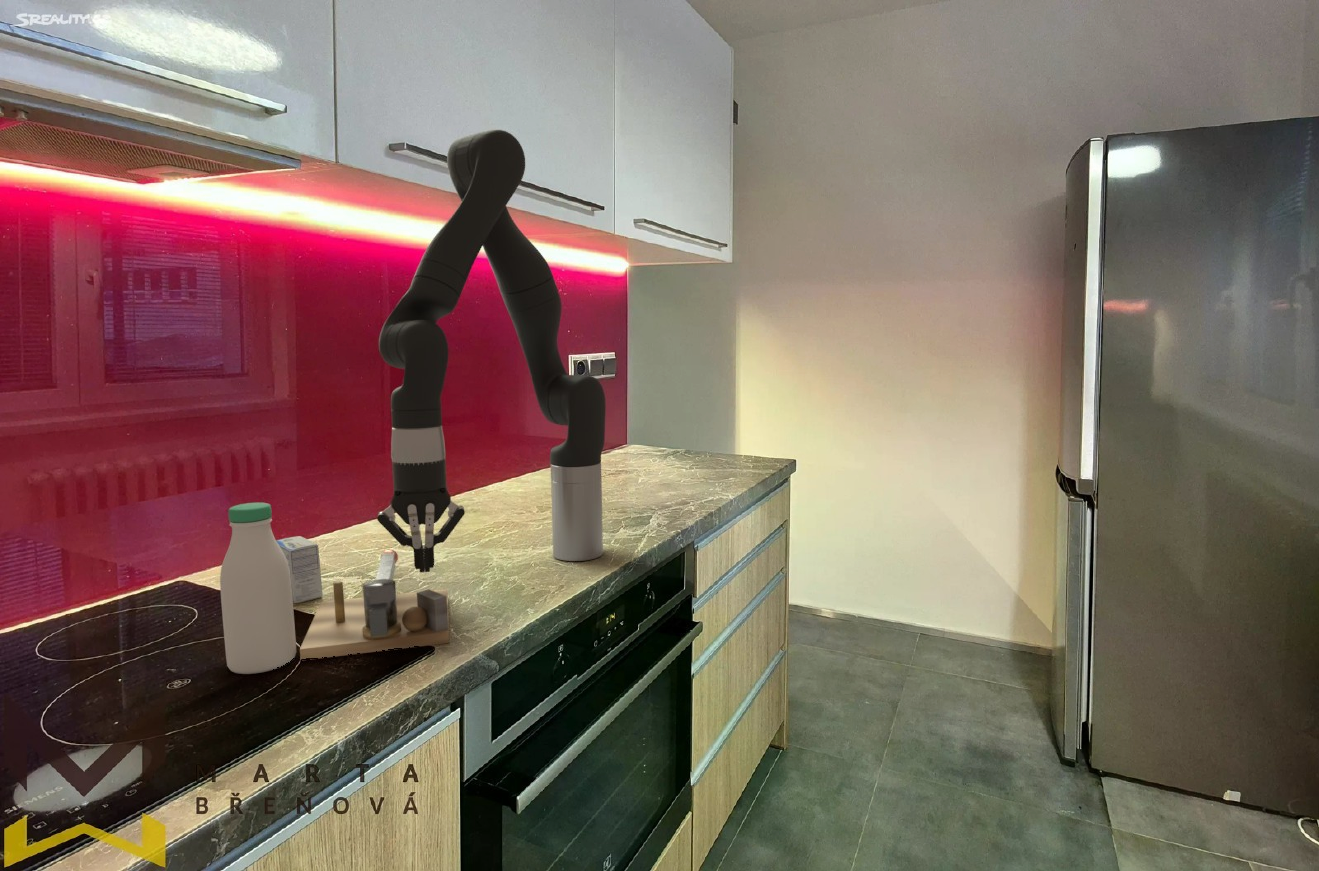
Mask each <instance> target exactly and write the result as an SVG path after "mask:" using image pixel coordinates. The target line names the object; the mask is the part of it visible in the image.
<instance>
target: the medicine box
mask: <svg viewBox="0 0 1319 871" xmlns="http://www.w3.org/2000/svg"><path fill="white" fill-rule="evenodd" d="M276 541H277V543H278V545H279V546H280V548H281V549H282V551H283V553H284V555H285V557H286V559H287V562H288V566H289V571H290V579H291V588H292V600H293V604H299V603H305V602H308V601H312V600H317V599H321V598H322V597H323V596H324V593H323V585H322V584H323V583H322V573H321V561H320V559H321V558H320V549H319V544H317V542H316V543H315V542H313V541H312V540H309V539H307V538H305V537H303V536H301V535H298V536H290V537H284V538H282V539H276Z"/></svg>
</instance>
